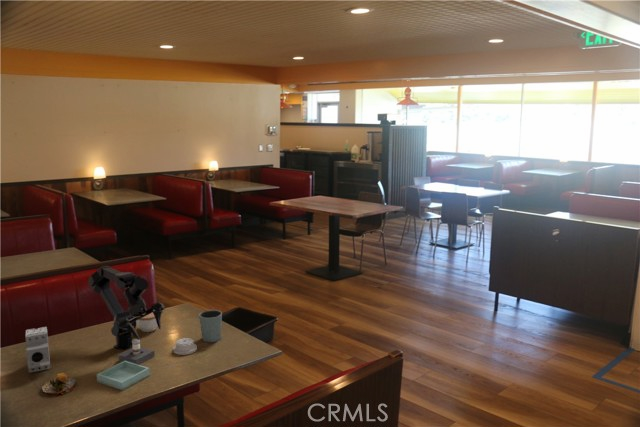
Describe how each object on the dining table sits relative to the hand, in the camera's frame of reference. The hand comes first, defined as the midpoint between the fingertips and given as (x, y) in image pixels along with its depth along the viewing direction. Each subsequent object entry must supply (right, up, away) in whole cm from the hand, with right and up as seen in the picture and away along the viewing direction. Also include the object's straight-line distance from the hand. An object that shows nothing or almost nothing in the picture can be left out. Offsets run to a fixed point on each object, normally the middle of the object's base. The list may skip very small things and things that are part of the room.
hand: (149, 334), depth 220 cm
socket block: (-7, -11, +4) cm, 14 cm away
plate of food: (-27, -16, -21) cm, 38 cm away
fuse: (-7, -11, +4) cm, 14 cm away
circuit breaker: (-42, -13, -6) cm, 44 cm away
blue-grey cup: (+20, -8, +25) cm, 33 cm away
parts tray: (-6, -14, -13) cm, 20 cm away
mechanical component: (+12, -10, +12) cm, 20 cm away
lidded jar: (-11, -6, +35) cm, 37 cm away
